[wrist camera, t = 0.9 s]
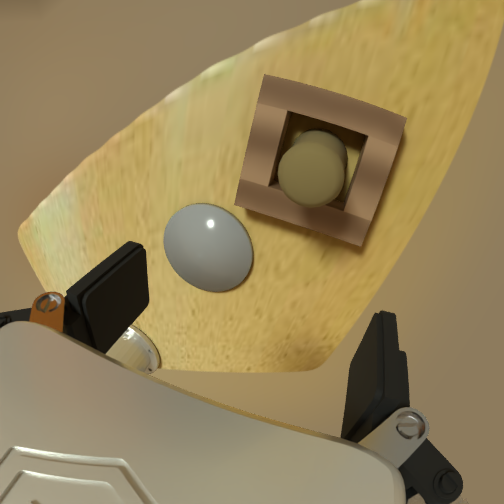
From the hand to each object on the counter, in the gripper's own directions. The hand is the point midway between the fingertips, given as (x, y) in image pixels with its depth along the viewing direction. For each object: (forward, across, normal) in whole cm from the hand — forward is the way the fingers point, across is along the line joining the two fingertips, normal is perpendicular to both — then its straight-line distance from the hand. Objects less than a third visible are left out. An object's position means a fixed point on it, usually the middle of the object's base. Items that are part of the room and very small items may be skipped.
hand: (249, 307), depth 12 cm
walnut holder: (+24, 0, -1) cm, 24 cm away
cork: (+24, 0, -1) cm, 25 cm away
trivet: (+24, +11, +13) cm, 29 cm away
